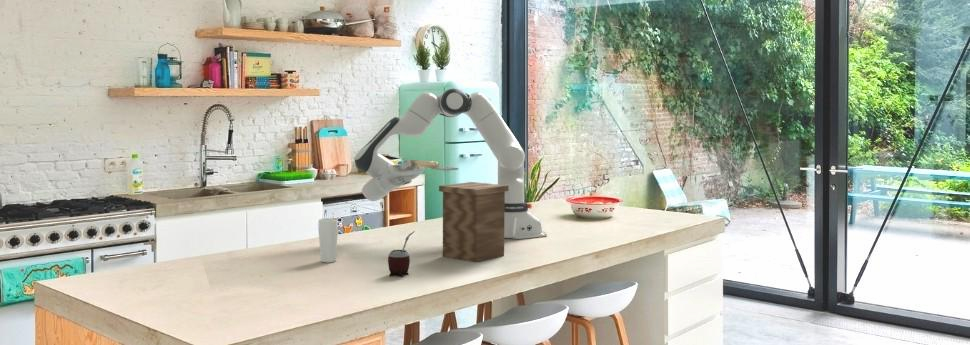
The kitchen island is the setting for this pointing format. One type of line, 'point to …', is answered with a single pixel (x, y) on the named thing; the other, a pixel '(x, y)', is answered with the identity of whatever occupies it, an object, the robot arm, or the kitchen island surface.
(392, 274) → the mate gourd
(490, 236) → the lidded wooden box
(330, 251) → the drinking glass
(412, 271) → the kitchen island surface
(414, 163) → the brass handle with plate
